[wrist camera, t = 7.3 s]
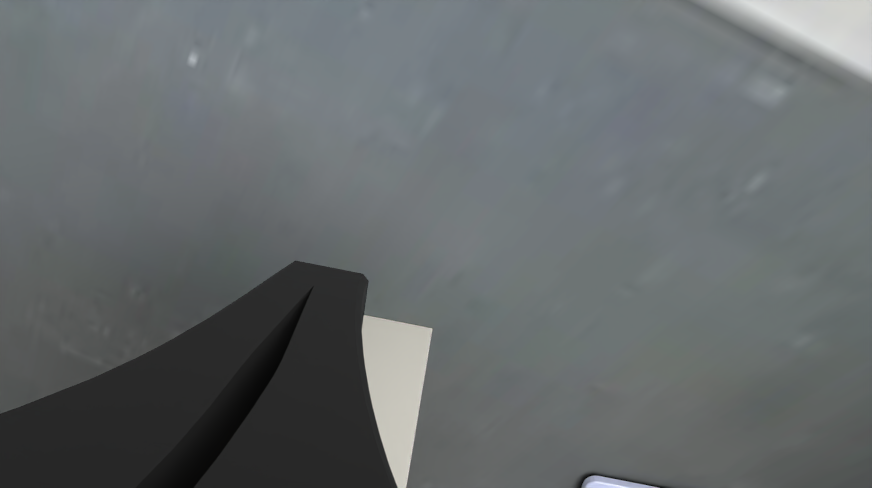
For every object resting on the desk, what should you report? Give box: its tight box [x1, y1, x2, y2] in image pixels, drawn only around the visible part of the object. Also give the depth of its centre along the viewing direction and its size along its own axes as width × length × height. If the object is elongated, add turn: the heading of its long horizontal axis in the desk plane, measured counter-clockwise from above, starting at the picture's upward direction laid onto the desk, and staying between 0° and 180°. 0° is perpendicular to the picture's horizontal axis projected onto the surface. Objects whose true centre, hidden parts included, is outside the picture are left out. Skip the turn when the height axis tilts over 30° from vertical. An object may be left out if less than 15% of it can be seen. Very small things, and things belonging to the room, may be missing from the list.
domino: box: [362, 315, 433, 488], centre depth 19 cm, size 4×2×9 cm, turn 80°
